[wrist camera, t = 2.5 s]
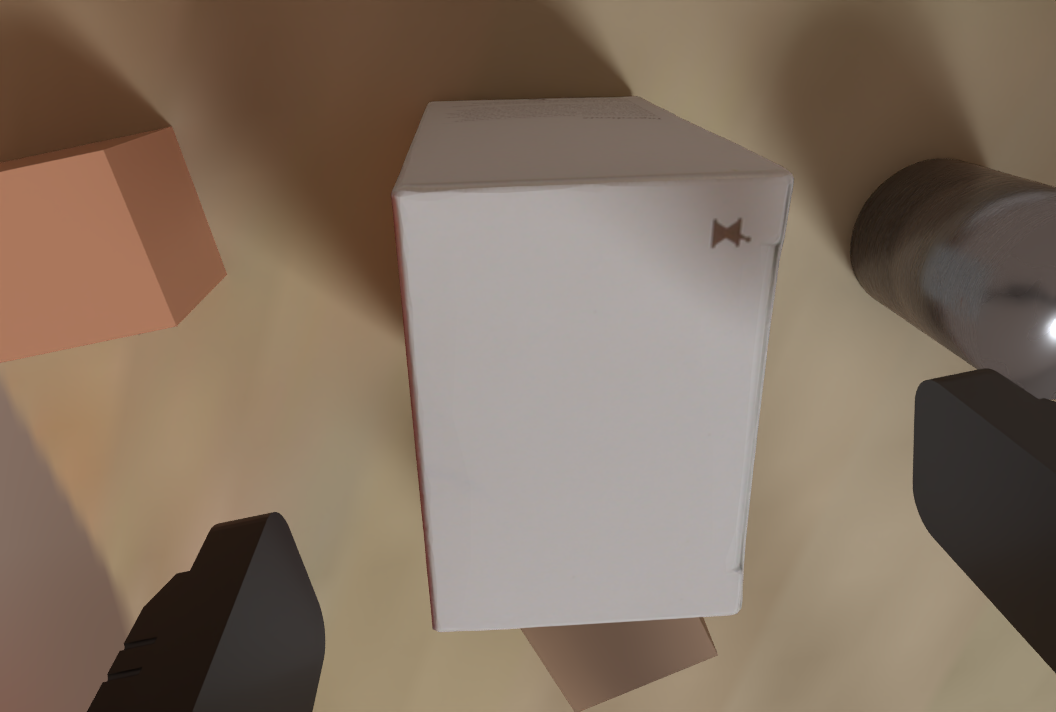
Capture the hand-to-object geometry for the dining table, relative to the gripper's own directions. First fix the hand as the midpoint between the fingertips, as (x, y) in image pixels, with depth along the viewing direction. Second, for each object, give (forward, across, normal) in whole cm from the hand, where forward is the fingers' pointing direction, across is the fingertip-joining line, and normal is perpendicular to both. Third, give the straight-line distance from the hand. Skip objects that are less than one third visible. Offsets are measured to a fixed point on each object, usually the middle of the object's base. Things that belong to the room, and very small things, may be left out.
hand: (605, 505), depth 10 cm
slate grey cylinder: (+12, -11, +2) cm, 17 cm away
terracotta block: (+13, +11, -3) cm, 17 cm away
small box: (+13, 0, 0) cm, 13 cm away
